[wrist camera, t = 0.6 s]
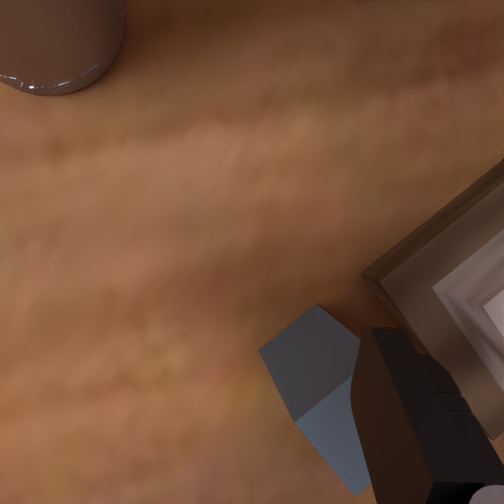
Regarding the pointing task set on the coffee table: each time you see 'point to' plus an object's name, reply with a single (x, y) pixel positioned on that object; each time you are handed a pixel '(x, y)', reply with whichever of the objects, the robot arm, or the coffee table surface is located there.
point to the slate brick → (320, 389)
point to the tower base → (431, 266)
